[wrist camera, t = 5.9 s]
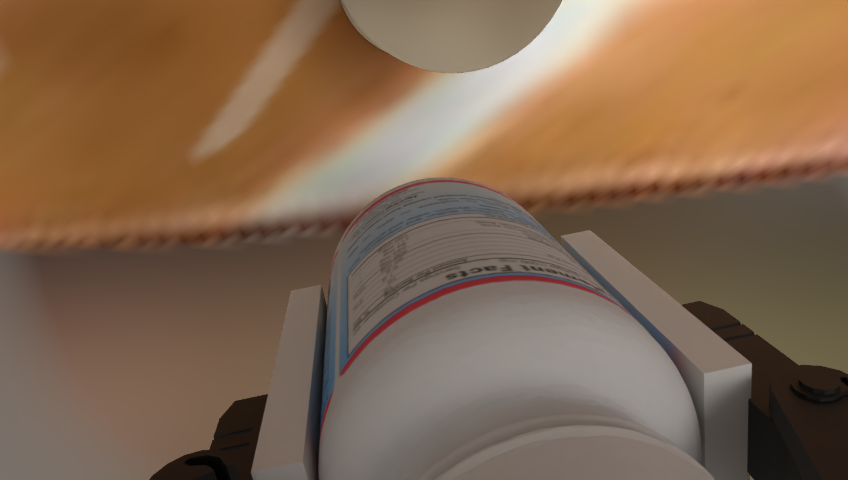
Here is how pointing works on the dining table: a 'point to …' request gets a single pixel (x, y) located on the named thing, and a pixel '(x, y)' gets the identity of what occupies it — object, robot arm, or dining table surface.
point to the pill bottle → (488, 354)
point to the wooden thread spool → (450, 29)
